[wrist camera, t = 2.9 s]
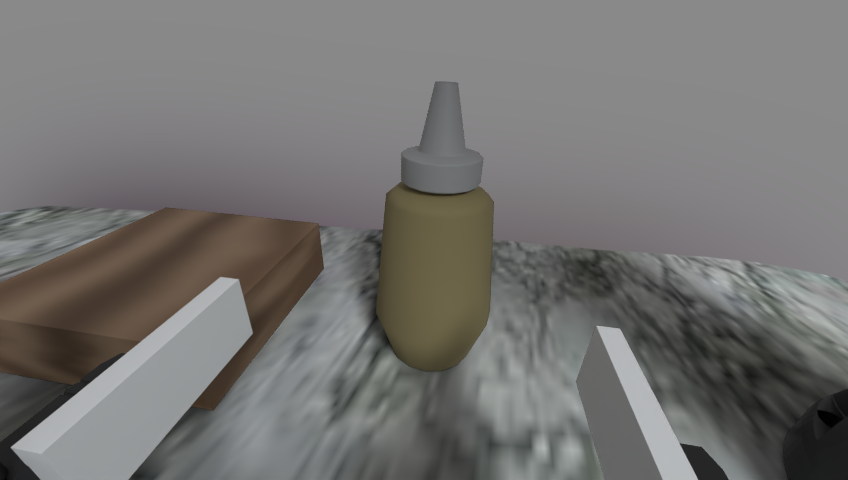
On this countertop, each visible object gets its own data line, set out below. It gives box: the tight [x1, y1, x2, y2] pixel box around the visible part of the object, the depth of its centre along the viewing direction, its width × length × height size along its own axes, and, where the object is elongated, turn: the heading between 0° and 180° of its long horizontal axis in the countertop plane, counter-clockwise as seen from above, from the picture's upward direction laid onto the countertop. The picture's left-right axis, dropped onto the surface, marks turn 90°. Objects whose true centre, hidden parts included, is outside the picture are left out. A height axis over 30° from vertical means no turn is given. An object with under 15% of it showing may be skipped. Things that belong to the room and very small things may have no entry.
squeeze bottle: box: [376, 82, 494, 371], centre depth 22 cm, size 8×8×18 cm
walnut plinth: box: [0, 208, 324, 410], centre depth 27 cm, size 16×16×5 cm
